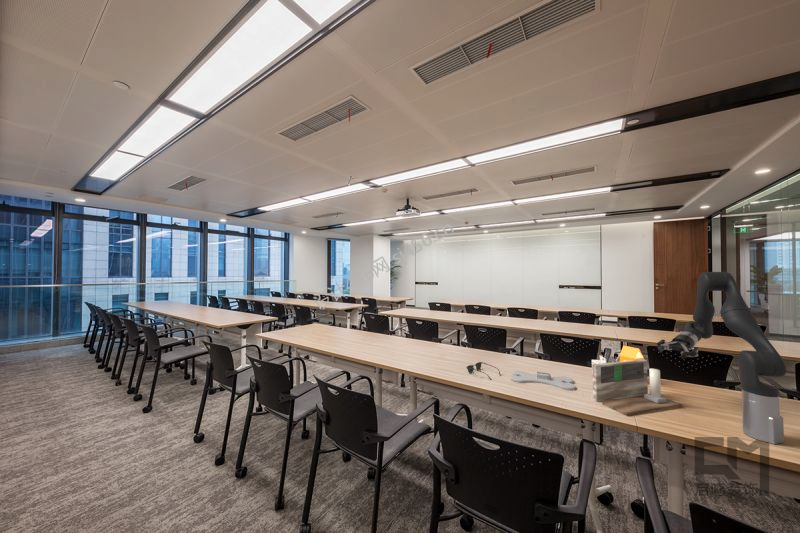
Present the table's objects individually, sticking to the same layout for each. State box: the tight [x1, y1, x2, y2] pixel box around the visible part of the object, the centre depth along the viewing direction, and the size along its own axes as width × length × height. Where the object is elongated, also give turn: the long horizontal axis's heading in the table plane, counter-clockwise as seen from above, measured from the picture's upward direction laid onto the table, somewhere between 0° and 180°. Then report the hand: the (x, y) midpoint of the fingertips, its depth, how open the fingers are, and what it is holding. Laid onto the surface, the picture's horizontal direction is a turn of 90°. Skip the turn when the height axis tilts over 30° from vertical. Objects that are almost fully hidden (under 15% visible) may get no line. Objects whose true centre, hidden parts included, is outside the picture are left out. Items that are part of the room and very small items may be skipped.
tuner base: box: [591, 358, 683, 417], centre depth 142 cm, size 17×34×18 cm, turn 104°
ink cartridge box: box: [591, 355, 607, 380], centre depth 171 cm, size 9×5×15 cm, turn 168°
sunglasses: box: [465, 361, 502, 381], centre depth 183 cm, size 16×17×5 cm
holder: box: [510, 369, 577, 391], centre depth 172 cm, size 19×34×5 cm, turn 64°
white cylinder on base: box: [638, 367, 668, 403], centre depth 144 cm, size 11×6×15 cm, turn 14°
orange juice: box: [619, 345, 645, 362], centre depth 172 cm, size 8×9×20 cm
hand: (670, 353), depth 140 cm, fingers open, 8 cm apart
